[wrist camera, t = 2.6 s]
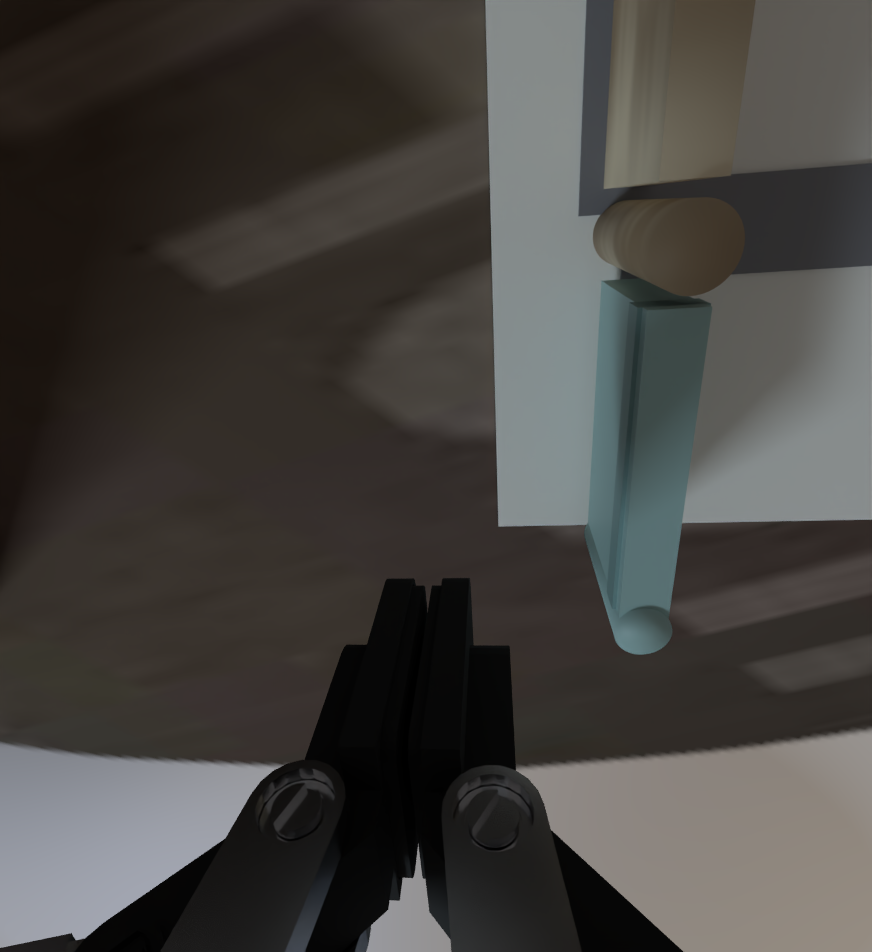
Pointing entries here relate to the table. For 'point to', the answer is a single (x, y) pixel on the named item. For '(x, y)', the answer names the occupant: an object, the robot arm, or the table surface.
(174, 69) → the table surface
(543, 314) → the card
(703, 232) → the fence fixed
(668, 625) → the fence gate
